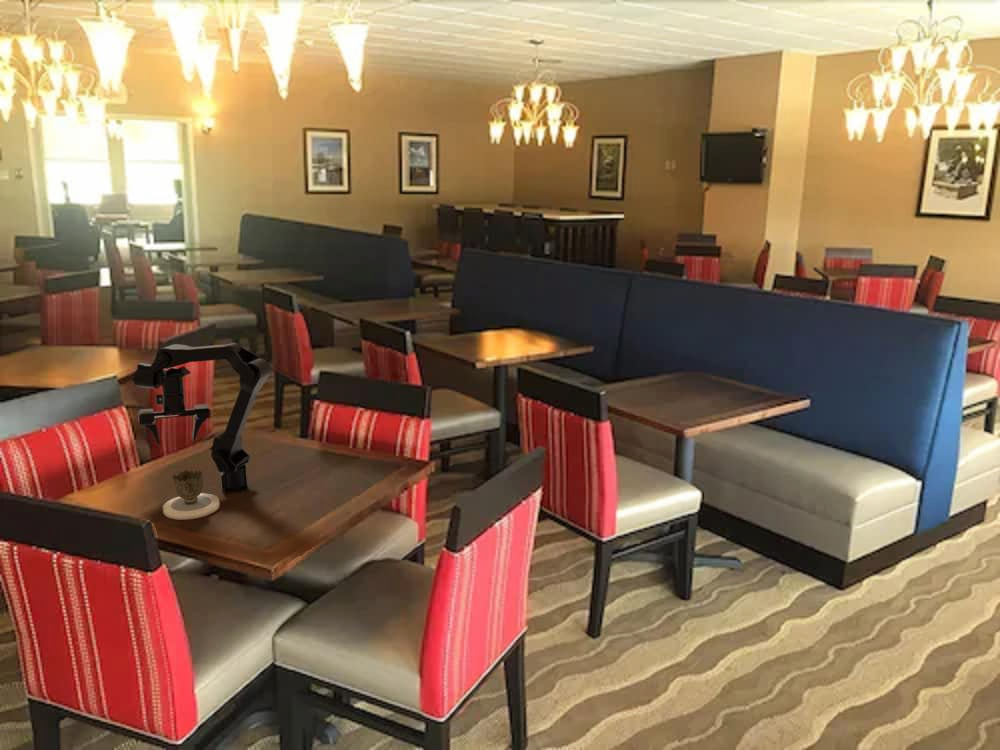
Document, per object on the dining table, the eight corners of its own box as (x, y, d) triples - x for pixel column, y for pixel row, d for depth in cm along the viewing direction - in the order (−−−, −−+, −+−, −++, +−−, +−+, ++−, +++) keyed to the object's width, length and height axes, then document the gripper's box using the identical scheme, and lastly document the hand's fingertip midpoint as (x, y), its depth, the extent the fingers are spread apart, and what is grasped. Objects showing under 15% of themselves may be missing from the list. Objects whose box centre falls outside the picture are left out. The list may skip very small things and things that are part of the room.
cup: (191, 495, 219) (188, 467, 217) (211, 499, 216) (209, 471, 214) (169, 504, 213) (166, 476, 211) (189, 509, 209) (187, 481, 208)
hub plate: (218, 495, 223) (217, 489, 223) (221, 514, 211) (220, 508, 210) (163, 502, 218) (162, 497, 218) (163, 523, 206) (162, 517, 205)
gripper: (204, 380, 236) (207, 430, 240) (135, 385, 228) (139, 437, 232) (209, 390, 226) (212, 442, 230) (137, 395, 218) (141, 450, 222)
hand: (176, 442), depth 229 cm, fingers open, 9 cm apart
